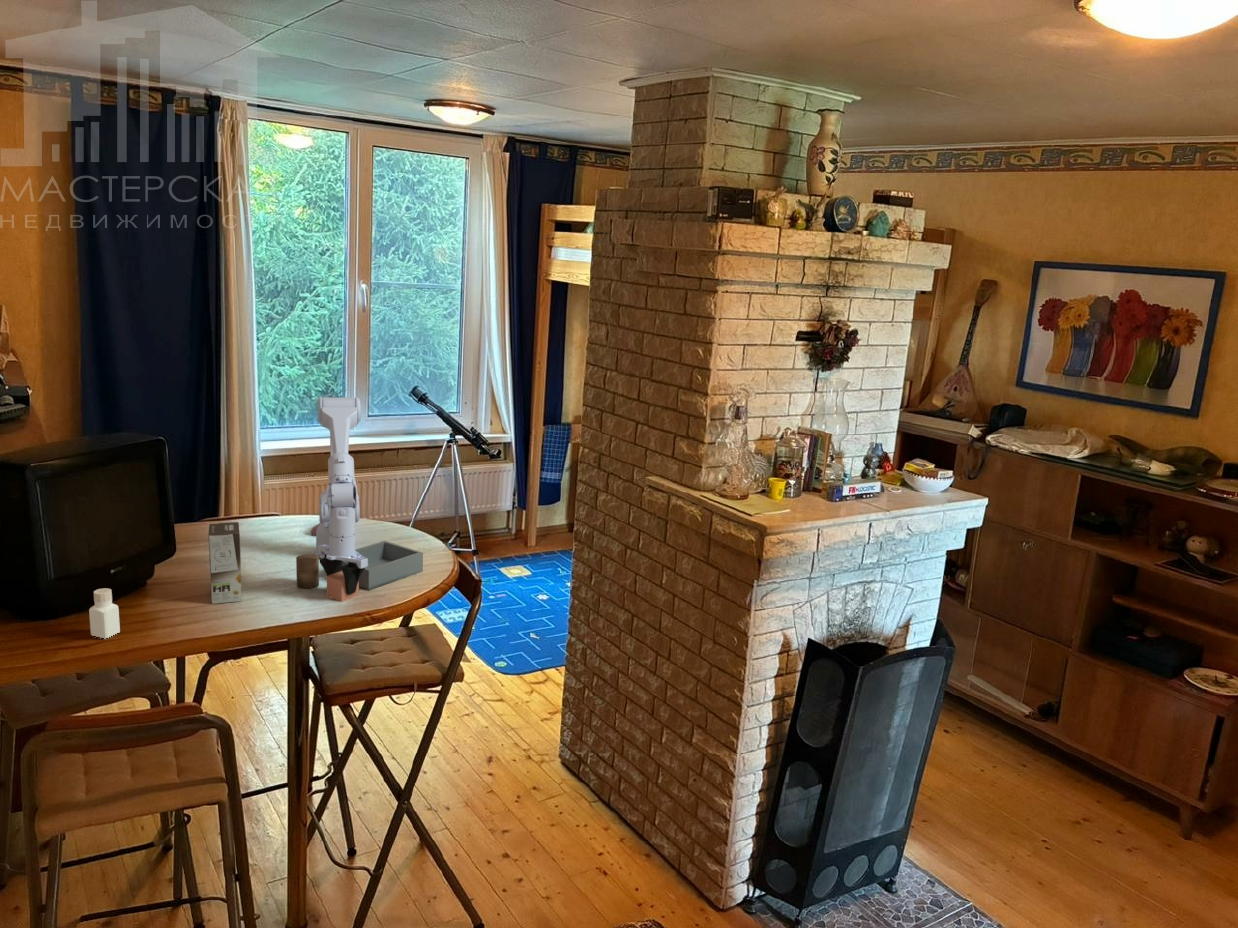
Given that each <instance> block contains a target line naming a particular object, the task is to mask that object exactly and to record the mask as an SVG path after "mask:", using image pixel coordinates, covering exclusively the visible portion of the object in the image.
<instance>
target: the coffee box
mask: <svg viewBox="0 0 1238 928" xmlns="http://www.w3.org/2000/svg"><path fill="white" fill-rule="evenodd" d="M240 534H241V533H240V524H239V522H238V521H234V522H232V521H230V522H229V521H228V522H218V523H209V525H208V550H209V551H208V552H209V555H208V556H209V572H210V573H209V576H210V577H209V578H210V589H211V590H210V592H211V593H210V594H211V595H210V596H211V604H213V605H214V604H215V605H217V604H225V603H236V602H237V603H239V602H241V601H242V561H241V560H242V559H241V558H242V557H241V555H242V554H241V536H240Z"/></svg>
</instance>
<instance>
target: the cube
mask: <svg viewBox="0 0 1238 928" xmlns="http://www.w3.org/2000/svg"><path fill="white" fill-rule="evenodd" d="M359 589H360V587H359V581H358V584H357V588H356V592H355V593H352V594H349V595H348V594H347V593H346V587H345V578H344V574H343V572H342V571H340V572H337V573H334V574H331V575H328V576H327V575H326V597H327V596H328V598H330V597H331V598H330V599H333V600H335V599H336V601H339V602H341V603H342V602H345V601H348V600H351V599H353V597H354V598H356V597H355V596H357V597H360V592H359V591H360V590H359ZM347 599H348V600H347Z"/></svg>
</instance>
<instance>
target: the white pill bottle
mask: <svg viewBox="0 0 1238 928" xmlns="http://www.w3.org/2000/svg"><path fill="white" fill-rule="evenodd" d="M112 591H113V590H112V589H111V588H108V587H107V588H106V587H105V588H98V589H96V590H94V591H93V601H94V605H92V606H90V608H89V610H88V612H89V613H88V615H89V625H90V626H89V628H90V635H92V636H96V637H100V638H99V639H101V638H104V639H103V640H107V639H106V638H108V639H110V638H112V637H114V636H116V635H118V634H117V633H120V632H121V628H120V627H121V624H120V615H119V614H120V611H119V610H120V609H119V605H118V604H115V603H113V593H112ZM115 634H116V635H115ZM113 635H114V636H113ZM92 636H91V637H92ZM111 636H112V637H111ZM96 637H95V638H96ZM109 637H110V638H109Z"/></svg>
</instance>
